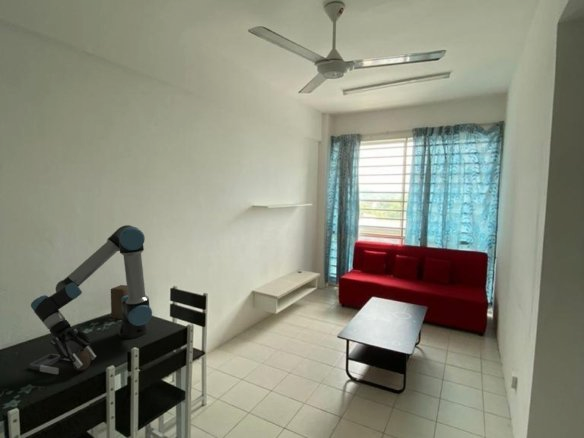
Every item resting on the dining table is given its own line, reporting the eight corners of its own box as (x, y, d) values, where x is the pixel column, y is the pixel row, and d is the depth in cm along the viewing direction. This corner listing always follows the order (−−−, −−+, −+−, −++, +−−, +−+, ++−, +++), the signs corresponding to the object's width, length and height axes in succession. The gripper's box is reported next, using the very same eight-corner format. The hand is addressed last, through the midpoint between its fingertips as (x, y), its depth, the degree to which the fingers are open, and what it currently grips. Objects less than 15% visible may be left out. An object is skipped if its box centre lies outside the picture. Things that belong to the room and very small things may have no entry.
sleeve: (39, 371, 146) (39, 366, 146) (63, 358, 158) (63, 354, 157) (57, 374, 144) (57, 369, 144) (79, 361, 155) (79, 356, 155)
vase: (87, 363, 153) (87, 345, 152) (93, 368, 149) (92, 349, 148) (70, 369, 148) (70, 350, 147) (76, 374, 143) (75, 355, 143)
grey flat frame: (28, 368, 148) (28, 364, 148) (51, 357, 159) (50, 353, 159) (40, 370, 147) (40, 366, 147) (62, 359, 157) (62, 355, 157)
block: (123, 319, 208) (123, 289, 207) (110, 318, 210) (109, 288, 209) (134, 314, 218) (133, 285, 216) (121, 312, 220) (120, 284, 218)
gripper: (71, 321, 160) (100, 356, 157) (32, 338, 141) (63, 378, 138) (80, 312, 158) (108, 347, 156) (40, 328, 139) (72, 368, 137)
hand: (87, 362), depth 147 cm, fingers closed on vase, 7 cm apart
